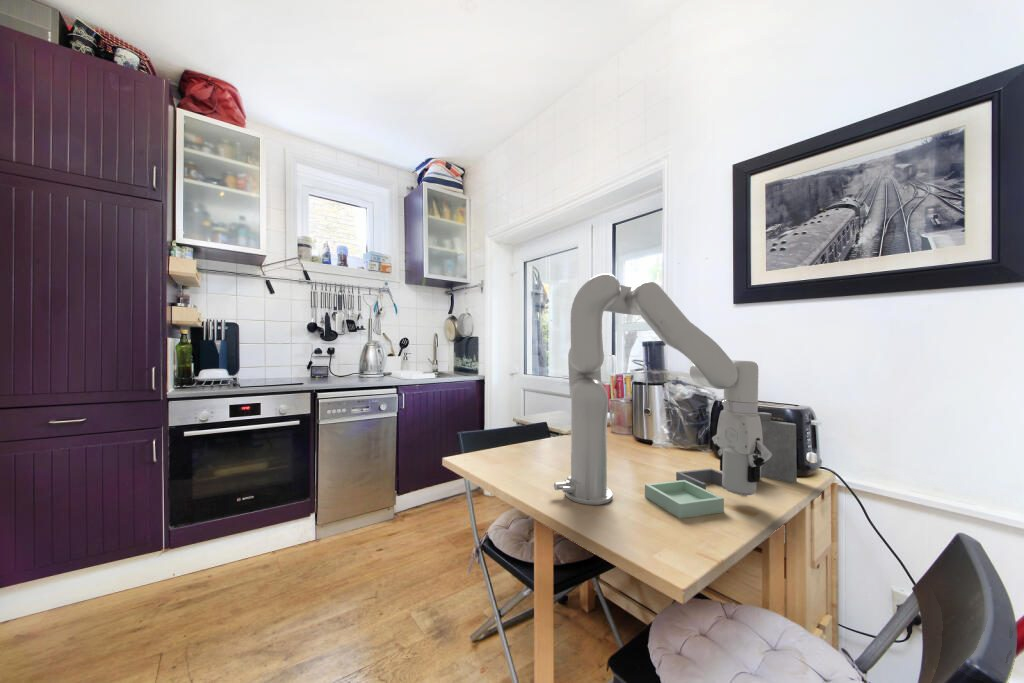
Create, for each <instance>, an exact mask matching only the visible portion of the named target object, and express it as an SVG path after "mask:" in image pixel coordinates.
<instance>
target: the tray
mask: <svg viewBox="0 0 1024 683" xmlns="http://www.w3.org/2000/svg"><path fill="white" fill-rule="evenodd" d="M644 497H645V498H647V499H648V500H650V501H651V502H653V503H654V504H657V506H659V507H661V508H663V509H664V510H666V511H667V512H669V513H671V514H672V515H674V516H676V517H677V518H679V519H686V518H693V517H699V516H707V515H712V514H713V515H714V514H719V513H724V512H725V499H724V497H722V496H720V495H717V494H715V493H713V492H712V491H709V490H707V489H706V490H705V489H703V488H701V487H699V486H696V485H694V484H692V483H690V482H688V481H686V480H679V481H676V480H672V481H670V480H669V481H664V482H653V483H652V482H651V483H645V484H644Z"/></svg>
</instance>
